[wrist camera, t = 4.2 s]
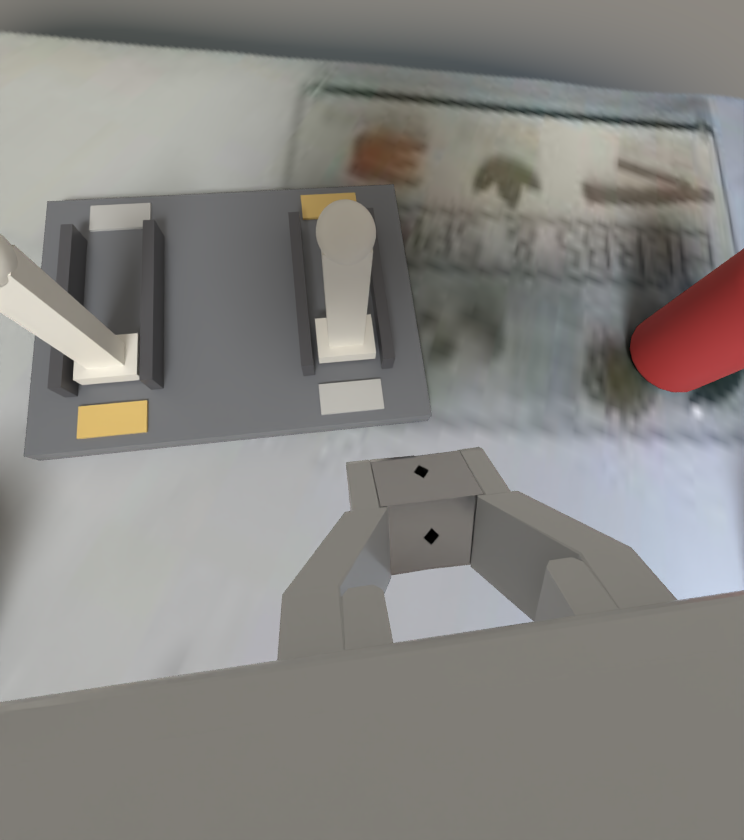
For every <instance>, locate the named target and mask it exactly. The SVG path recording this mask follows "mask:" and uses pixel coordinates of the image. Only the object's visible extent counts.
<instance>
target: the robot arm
mask: <svg viewBox="0 0 744 840" xmlns="http://www.w3.org/2000/svg"><path fill="white" fill-rule="evenodd" d="M346 470H347V480H348V491H349V501H350V511H349V512H345V513H344V514H343V515H342V517H341V518H340V519H339V521H338V522H337V523H336V525H335V526H334V527H333V529H332V530H331V531H330V533H329V534H328V535H327V536H326V538H325V539H324V540H323V542H322V543H321V544H320V546H319V547H318V548H317V550H316V551H315V552H314V554H313V555H312V556H311V558H310V559H309V560H308V562H307V563H306V564H305V566H304V567H303V568H302V570H301V571H300V572H299V574H298V575H297V576H296V577H295V579H294V580H293V581H292V583H291V584H290V585H289V587H288V588H287V589H286V591H285V592H284V593H283V595H282V606H281V619H280V632H279V646H278V659H277V661H270V662H264V663H257V664H250V665H244V666H237V667H230V668H224V669H217V670H210V671H204V672H197V673H191V674H184V675H177V676H171V677H164V678H157V679H151V680H144V681H137V682H131V683H124V684H118V685H111V686H104V687H98V688H91V689H84V690H78V691H71V692H64V693H58V694H51V695H45V696H38V697H31V698H25V699H18V700H11V701H5V702H0V840H744V590H742V591H735V592H729V593H722V594H715V595H709V596H702V597H695V598H689V599H682V600H677V599H676V598H675V597H674V596H673V594H672V593H671V592H670V591H669V590H668V589H667V588H666V586H665V585H664V584H663V583H662V582H661V581H660V580H659V578H658V577H657V576H656V575H655V574H654V573H653V572H652V570H651V569H650V568H649V567H648V566H647V565H646V564H645V562H644V561H643V560H642V559H641V558H640V557H639V556H638V554H637V553H636V552H635V551H634V550H633V549H632V548H631V547H629V546H627V545H625V544H623V543H621V542H619V541H617V540H615V539H613V538H611V537H609V536H607V535H605V534H603V533H601V532H599V531H597V530H595V529H593V528H591V527H589V526H587V525H585V524H583V523H581V522H579V521H577V520H575V519H573V518H571V517H569V516H567V515H565V514H563V513H561V512H559V511H557V510H555V509H553V508H551V507H549V506H547V505H545V504H543V503H541V502H539V501H537V500H535V499H533V498H531V497H529V496H527V495H525V494H523V493H521V492H519V491H512V492H511V491H510V490H509V488H508V487H507V485H506V484H505V482H504V481H503V479H502V477H501V476H500V474H499V473H498V471H497V470H496V468H495V467H494V465H493V464H492V462H491V461H490V459H489V458H488V456H487V455H486V453H485V452H484V450H483V449H482V448H480V447H476V448H469V449H462V450H457V451H451V452H443V453H436V454H428V455H420V456H405V457H394V458H383V459H372V460H370V461H369V460H362V461H354V462H346ZM462 565H471V567H472V568H473V569H474V570H475V571H476V572H478V573H479V574H480V575H481V576H482V577H483V578H484V579H486V580H487V581H488V582H489V583H490V584H491V585H493V586H494V587H495V588H496V589H497V590H498V591H499V592H501V593H502V594H503V595H504V596H505V597H506V598H507V599H509V600H510V601H511V602H512V603H513V604H514V605H516V606H517V607H518V608H519V609H520V610H521V611H522V612H524V613H525V614H526V615H527V616H528V617H529V618H531V619H532V620H533V621H534V622H529V623H522V624H516V625H509V626H503V627H496V628H489V629H483V630H476V631H469V632H463V633H456V634H449V635H443V636H436V637H429V638H423V639H416V640H410V641H403V642H396V643H393V639H392V634H391V629H390V623H389V618H388V613H387V608H386V602H385V597H384V593H385V591H386V589H387V586H388V584H389V582H390V579H391V575H397V574H403V573H409V572H415V571H421V570H427V569H434V568H444V567H453V566H462Z"/></svg>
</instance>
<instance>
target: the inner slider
mask: <svg viewBox="0 0 744 840" xmlns="http://www.w3.org/2000/svg"><path fill="white" fill-rule="evenodd" d="M0 312H1V313H2V314H4V315H5V316H7V317H8V318H10V319H11V320H13V321H14V322H16V323H17V324H19V325H20V326H22V327H23V328H25V329H27V330H28V331H30V332H31V333H33V334H34V335H36V336H37V337H39V338H40V339H42V340H43V341H45V342H46V343H48V344H49V345H51V346H52V347H54V348H55V349H57V350H59V351H60V352H62V353H63V354H65V355H66V356H68V357H69V358H71V359H72V360H74V370H73V380H74V381H76V382H77V383H79V384H81V385H89V384H100V383H112V382H123V381H134V380H139V374H140V335H139V334H138V333H134V334H121V335H115V334H114V333H113V332H112V331H110V330H109V329H108V328H107V327H106V326H105V325H104V324H103V323H101V322H100V321H99V320H98V319H97V318H96V317H95V316H94V315H92V314H91V313H90V312H89V311H88V310H87V309H86V308H85V307H83V306H82V305H81V304H80V303H79V302H78V301H77V300H76V299H74V298H73V297H72V296H71V295H70V294H69V293H68V292H67V291H65V290H64V289H63V288H62V287H61V286H60V285H59V284H58V283H56V282H55V281H54V280H53V279H52V278H51V277H50V276H49V275H47V274H46V273H45V272H44V271H43V270H42V269H41V268H40V267H38V266H37V265H36V264H35V263H34V262H33V261H32V260H31V259H29V258H28V257H27V256H26V255H25V254H24V253H23V252H21V251H20V250H19V249H18V248H17V247H16V246H15V245H11V244H10V243H9V241H8V240H7V239H6V238H5V237H4V236H3V235H1V234H0Z"/></svg>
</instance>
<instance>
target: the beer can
mask: <svg viewBox="0 0 744 840" xmlns="http://www.w3.org/2000/svg"><path fill="white" fill-rule="evenodd" d="M630 351H631V356H632V361H633V363H634V365H635V366H636V368H637V370H638V372H639V373H640V374H641V375H642V376H643V377H644V378H645V379H646V380H647V381H648V382H650V383H652V384H653V385H655V386H656V387H658V388H660V389H664V390H667V391H670V392H688V391H691V390H694V389H696V388H699V387H701V386H704V385H706V384H708V383H711V382H713V381H715V380H718V379H720V378H722V377H725V376H727V375H730V374H732V373H734V372H737V371H739V370H741V369H744V249H742V250H741V251H740V252H738V253H737V254H736V255H734V256H733V257H731V258H730V259H729V260H727V261H726V262H724V263H723V264H722V265H720V266H719V267H718V268H716V269H715V270H713V271H712V272H711V273H709V274H708V275H707V276H705V277H704V278H702V279H701V280H700V281H698V282H697V283H695V284H694V285H693V286H691V287H690V288H689V289H687V290H686V291H684V292H683V293H682V294H680V295H679V296H677V297H676V298H675V299H673V300H672V301H671V302H669V303H668V304H666V305H665V306H664V307H662V308H661V309H660V310H658V311H657V312H655V313H654V314H653V315H651V316H650V317H648V318H647V319H646V320H644V321H643V322H642V323H641V324H640V325H638V326H637V328H636V329H635V331H634V333H633V335H632V337H631V344H630Z"/></svg>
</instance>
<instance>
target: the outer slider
mask: <svg viewBox="0 0 744 840" xmlns="http://www.w3.org/2000/svg"><path fill="white" fill-rule="evenodd" d="M316 238H317V242H318V245H319V247H320V249H321V256H322V269H323V281H324V294H325V306H326V318H317V319H315V325H316V336H317V346H318V356H319V363H331V362H342V361H354V360H365V359H375V357H376V348H375V341H374V333H373V326H372V318H371V314H368V315H367V306H368V297H369V287H370V277H371V267H372V257H373V246H374V243H375V239H376V227H375V223H374V220H373V217H372V216H371V214H370V212H369V211H368V210H367V209H366V208H365V207H364V206H363V205H362V204H360V203H358V202H356V201H353V200H348V199H342V200H337V201H334V202H332V203H331V204H329V205H328V206H327V207H325V208H324V210H323V211H322V212H321V214H320V216H319V218H318V220H317V224H316Z"/></svg>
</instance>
